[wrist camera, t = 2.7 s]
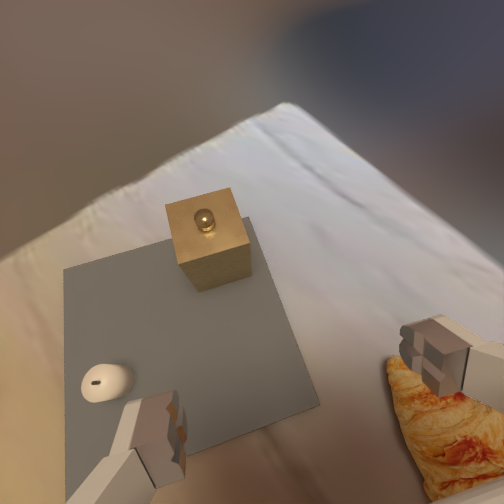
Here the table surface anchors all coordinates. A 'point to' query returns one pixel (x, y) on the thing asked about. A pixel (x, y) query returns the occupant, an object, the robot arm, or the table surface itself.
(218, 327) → the charcoal mat
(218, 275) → the brass knob block
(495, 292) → the table surface
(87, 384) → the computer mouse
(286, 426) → the table surface
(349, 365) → the table surface
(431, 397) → the croissant
